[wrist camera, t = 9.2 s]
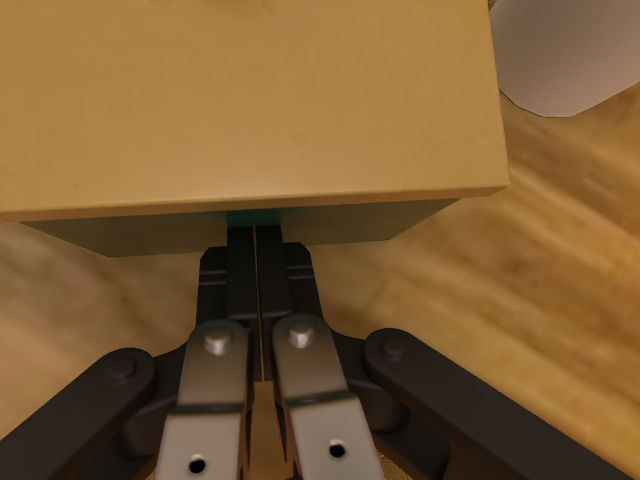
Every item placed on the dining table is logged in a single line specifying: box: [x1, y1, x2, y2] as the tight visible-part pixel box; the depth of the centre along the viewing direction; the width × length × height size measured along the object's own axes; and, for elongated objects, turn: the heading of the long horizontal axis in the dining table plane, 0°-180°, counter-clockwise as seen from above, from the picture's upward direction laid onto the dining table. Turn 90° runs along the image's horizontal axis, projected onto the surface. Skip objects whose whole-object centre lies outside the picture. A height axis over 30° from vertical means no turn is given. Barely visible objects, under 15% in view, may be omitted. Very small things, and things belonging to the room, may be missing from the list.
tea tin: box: [0, 0, 511, 257], centre depth 14 cm, size 10×10×10 cm
